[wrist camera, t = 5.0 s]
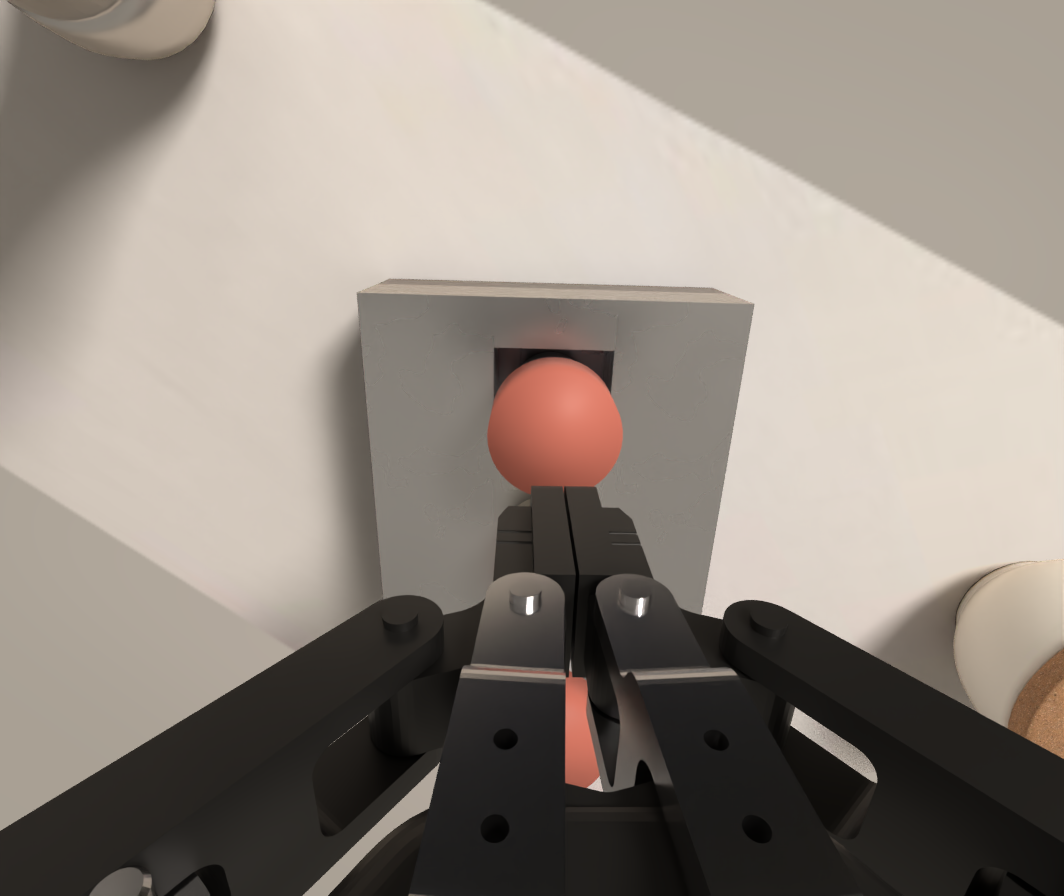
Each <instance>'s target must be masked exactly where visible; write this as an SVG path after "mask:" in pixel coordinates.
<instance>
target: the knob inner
mask: <svg viewBox="0 0 1064 896" xmlns="http://www.w3.org/2000/svg"><path fill="white" fill-rule="evenodd" d="M487 440H488V447H489V452H490V455H491V458H492V460H493V462H494V464H495V466H496V468H497V469H498V471H499V472H500V473H501V475H502V476H503V477H504V478H505V479H506V480H507V481H508V482H509V483H511V484H512V485H513V486H515V487H516V488H518V489H519V490H521V491H524V492H526V493H528V494H531V486H562V487H563V492H564V486H592V487H594V486H595V485H597V484H598V483H599V482H600V481H601V480H603V479H604V478H605V477H606V476H607V474H608V473H609V472H610V471H611V469H612V468H613V466H614V465H615V463H616V461H617V459H618V457H619V454H620V451H621V447H622V441H623V428H622V422H621V418H620V414H619V412H618V410H617V407H616V405H615V403H614V401H613V398H612V396H611V394H610V392H609V389H608V388H607V386H606V384H605V383H604V382H603V380H602V379H601V378H600V377H599V376H598V375H597V374H596V373H595V372H594V371H593V370H591V369H590V368H589V367H587V366H585V365H583V364H582V363H580V362H577V361H574V360H572V359H571V358H569V357H568V356H566V355H563V354H561V353H556V352H544V353H540V354H537V355H534V356H532V357H531V358H529V359H528V360H527V361H525V362H524V363H523V365H522V366H520V367H519V368H517V369H516V370H515V371H513V372H512V373H511V374H510V375H509V376H508V377H507V378H506V379H505V380H504V381H503V383H502V384H501V386H500V387H499V389H498V391H497V393H496V395H495V398H494V401H493V406H492V410H491V415H490V420H489V425H488V433H487Z"/></svg>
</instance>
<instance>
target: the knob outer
mask: <svg viewBox="0 0 1064 896" xmlns="http://www.w3.org/2000/svg"><path fill="white" fill-rule="evenodd" d="M587 691H588V687H587V681H586V680H585V679H584V678H582V677H572V669H571V660H570V668H569V678H566V720H565V783H568V784H572V785H576V786H580V787H584V788H587V787H588V786H590V785H591V784H592V783H593V782H594V781H595V780H596V779H597V778H598V777H599V776H600V774H599V770H598V765H597V761H596V756H595V752H594V747H593V743H592V738H591V734H590V729H589V725H588V720H587V716H586V703H587Z"/></svg>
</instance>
